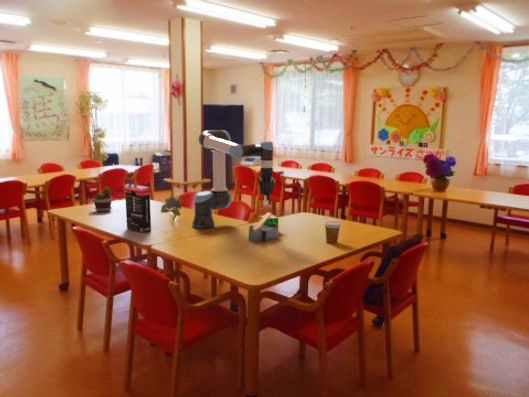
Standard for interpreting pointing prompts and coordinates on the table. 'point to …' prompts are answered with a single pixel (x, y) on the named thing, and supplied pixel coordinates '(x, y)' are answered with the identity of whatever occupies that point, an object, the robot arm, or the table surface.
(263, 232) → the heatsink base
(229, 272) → the table surface
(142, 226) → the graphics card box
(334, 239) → the disposable coffee cup
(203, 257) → the table surface
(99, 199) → the flowerpot
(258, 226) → the strap
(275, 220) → the puzzle cube
